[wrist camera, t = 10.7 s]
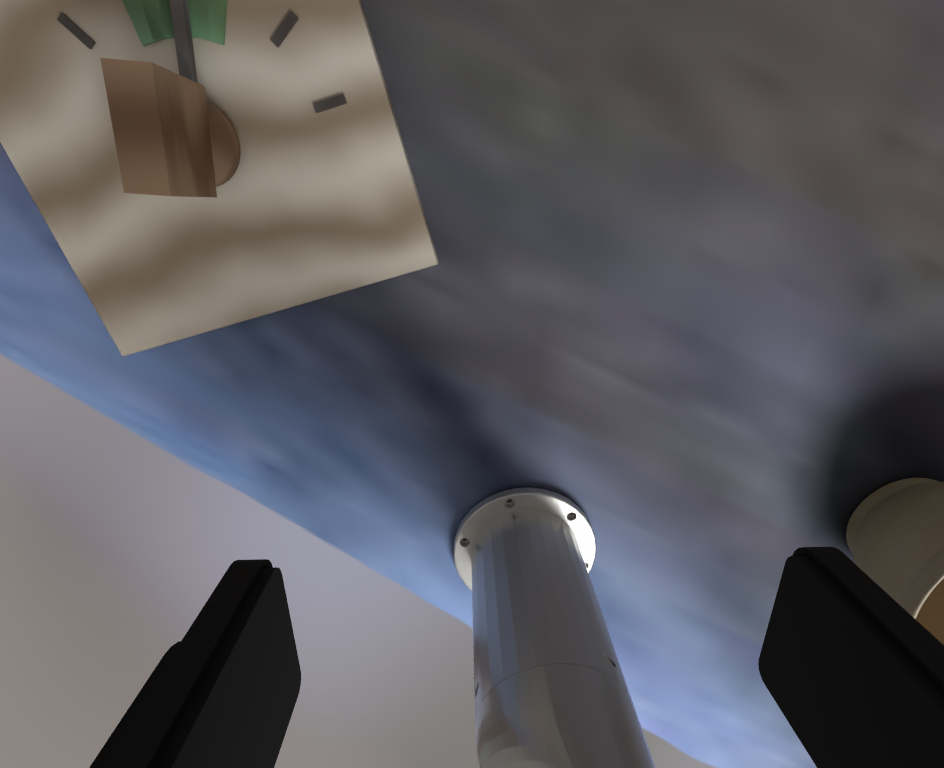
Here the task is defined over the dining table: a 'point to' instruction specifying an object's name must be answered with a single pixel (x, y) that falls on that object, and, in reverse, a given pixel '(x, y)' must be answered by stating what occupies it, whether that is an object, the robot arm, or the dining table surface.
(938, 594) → the planter bowl
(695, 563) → the dining table surface
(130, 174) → the dial pointer knob
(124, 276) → the dial plate
